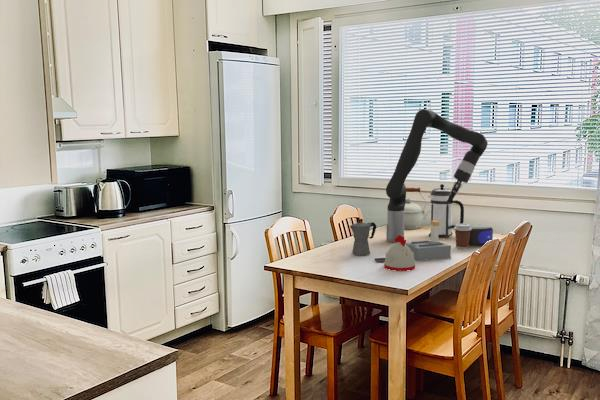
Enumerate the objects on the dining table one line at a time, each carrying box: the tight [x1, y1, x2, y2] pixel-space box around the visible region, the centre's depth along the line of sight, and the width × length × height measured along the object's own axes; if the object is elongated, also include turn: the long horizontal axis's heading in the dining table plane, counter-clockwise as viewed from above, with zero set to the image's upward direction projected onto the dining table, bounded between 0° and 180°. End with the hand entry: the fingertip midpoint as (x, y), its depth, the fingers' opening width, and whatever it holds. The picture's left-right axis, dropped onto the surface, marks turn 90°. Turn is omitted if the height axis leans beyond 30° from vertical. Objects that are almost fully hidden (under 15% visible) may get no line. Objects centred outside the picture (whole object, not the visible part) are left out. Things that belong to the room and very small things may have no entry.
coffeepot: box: [349, 218, 377, 257], centre depth 288 cm, size 15×9×18 cm, turn 115°
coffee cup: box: [453, 223, 473, 250], centre depth 301 cm, size 9×9×12 cm
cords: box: [374, 257, 386, 263], centre depth 275 cm, size 17×4×1 cm, turn 99°
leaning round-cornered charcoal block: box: [469, 226, 494, 247], centre depth 305 cm, size 16×5×9 cm, turn 96°
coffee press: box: [428, 184, 465, 239], centre depth 329 cm, size 17×16×30 cm
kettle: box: [404, 187, 431, 230], centre depth 356 cm, size 25×18×25 cm
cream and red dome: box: [383, 235, 416, 272], centre depth 262 cm, size 14×14×15 cm
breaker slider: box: [427, 220, 442, 244], centre depth 283 cm, size 4×6×11 cm
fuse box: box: [405, 239, 452, 262], centre depth 283 cm, size 18×14×7 cm
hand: (448, 202), depth 286 cm, fingers closed
